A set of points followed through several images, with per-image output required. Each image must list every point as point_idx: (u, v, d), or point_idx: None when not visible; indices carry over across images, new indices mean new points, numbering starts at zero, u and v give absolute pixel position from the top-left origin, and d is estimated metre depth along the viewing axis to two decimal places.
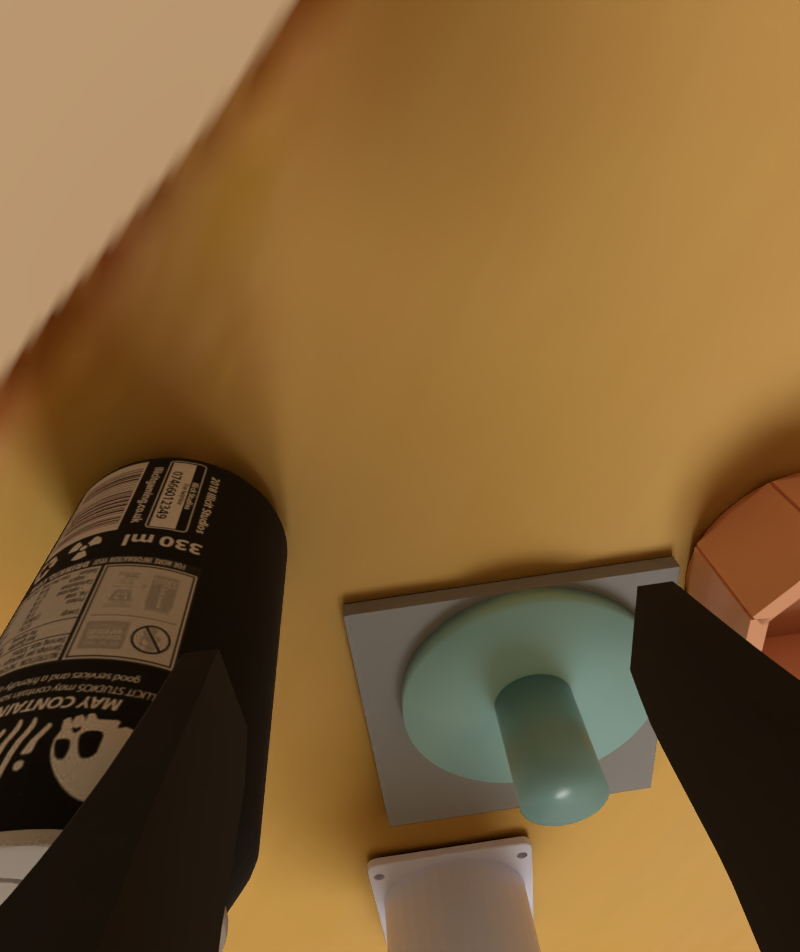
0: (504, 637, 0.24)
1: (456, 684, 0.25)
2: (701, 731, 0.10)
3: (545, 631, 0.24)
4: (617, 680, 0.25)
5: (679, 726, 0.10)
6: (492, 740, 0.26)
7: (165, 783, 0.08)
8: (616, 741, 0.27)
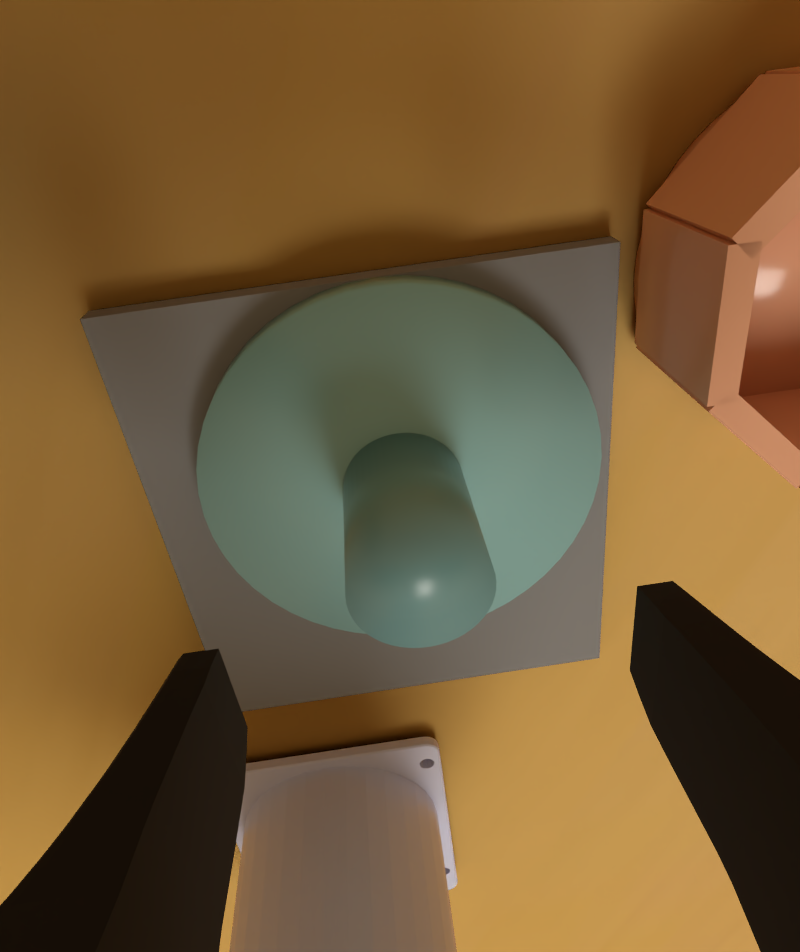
0: (339, 355, 0.15)
1: (276, 448, 0.16)
2: (701, 731, 0.10)
3: (405, 346, 0.15)
4: (530, 450, 0.16)
5: (679, 726, 0.10)
6: None
7: (165, 783, 0.08)
8: (538, 565, 0.18)
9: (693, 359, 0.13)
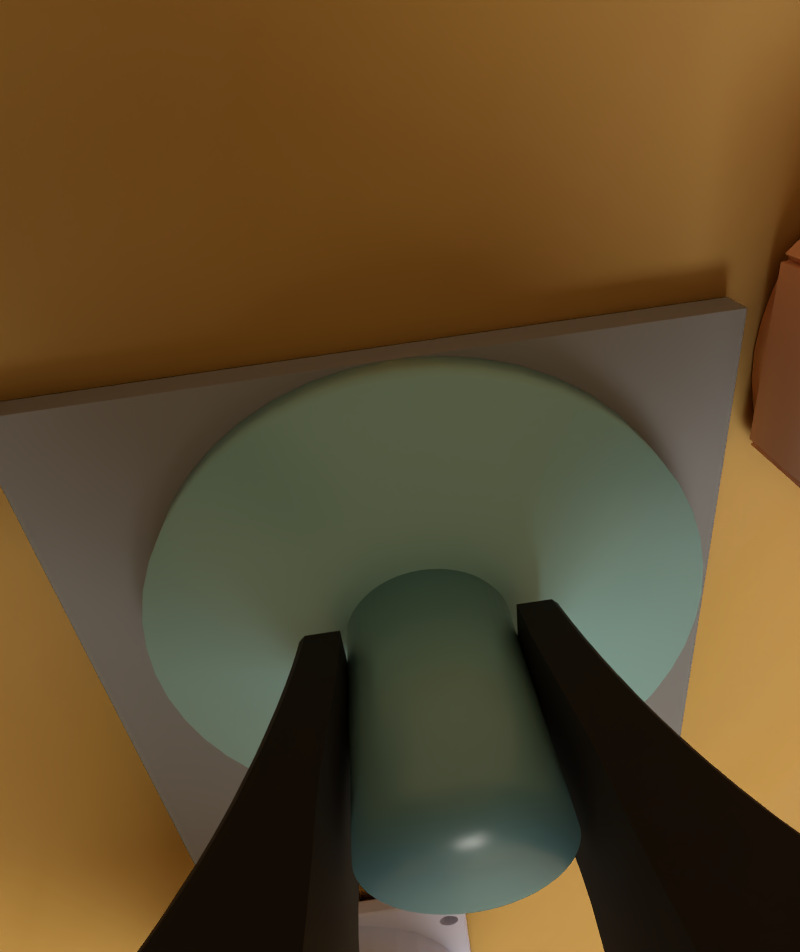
0: (342, 472, 0.10)
1: (254, 591, 0.11)
2: (562, 752, 0.10)
3: (438, 459, 0.10)
4: (606, 587, 0.12)
5: None
6: None
7: (322, 759, 0.09)
8: None
9: None
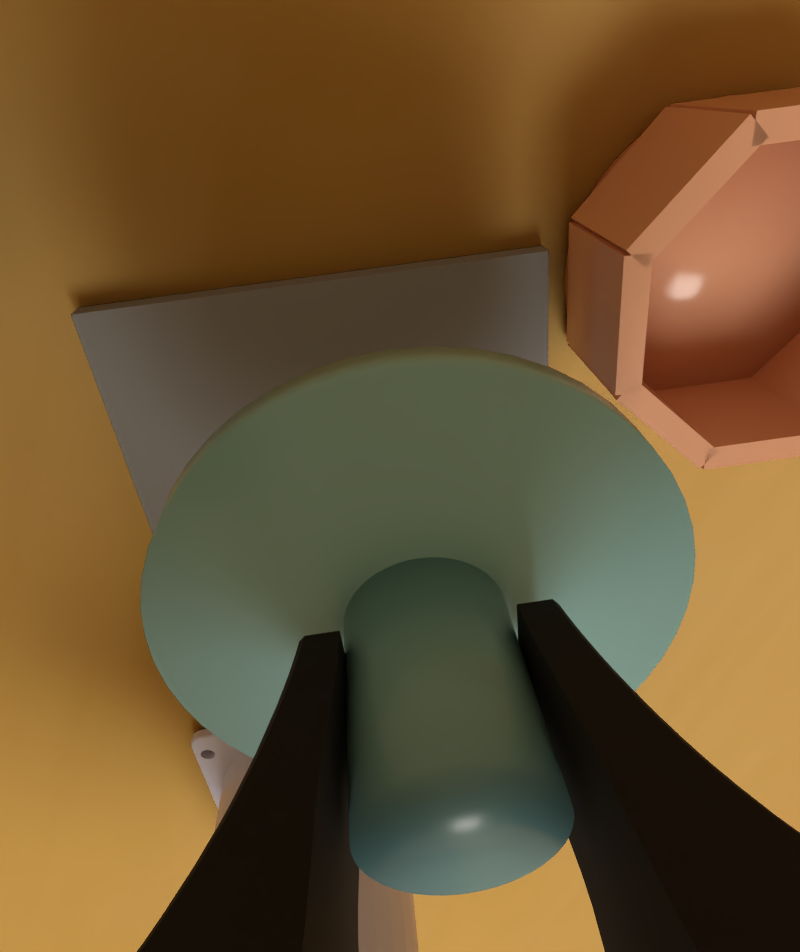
0: (340, 461, 0.10)
1: (251, 579, 0.11)
2: (562, 752, 0.10)
3: (434, 448, 0.10)
4: (599, 575, 0.12)
5: None
6: None
7: (322, 759, 0.09)
8: None
9: (605, 354, 0.15)
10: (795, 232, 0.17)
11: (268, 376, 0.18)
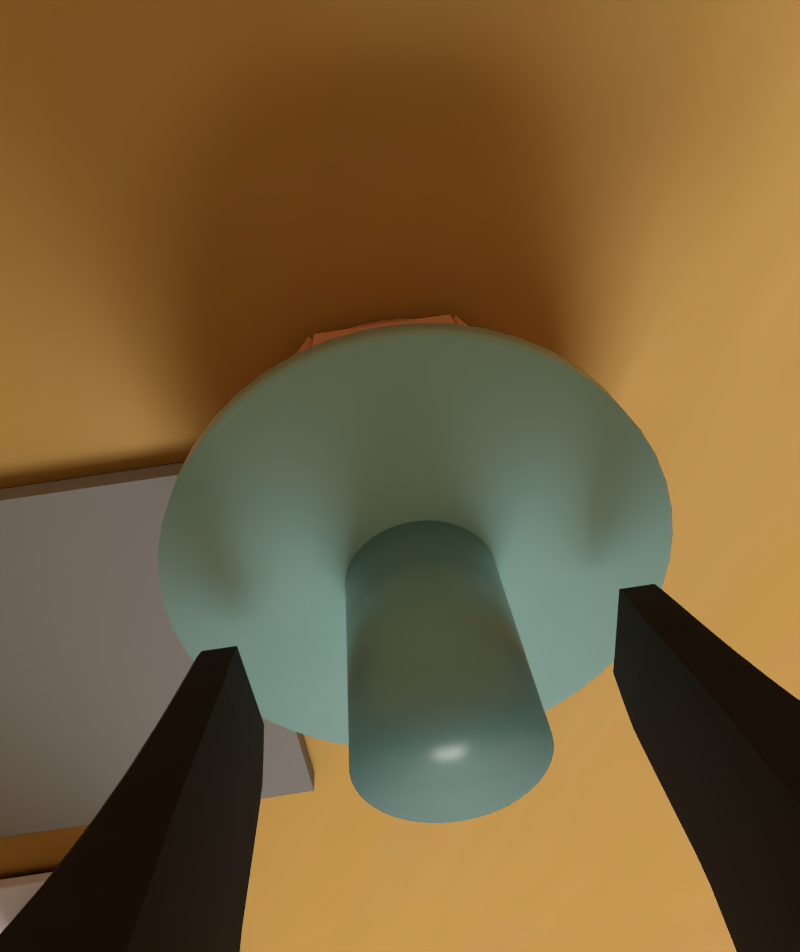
0: (356, 422, 0.11)
1: (264, 531, 0.12)
2: (680, 734, 0.10)
3: (443, 416, 0.11)
4: (584, 548, 0.13)
5: (660, 729, 0.10)
6: (345, 660, 0.14)
7: (188, 779, 0.08)
8: (575, 678, 0.15)
9: None
10: None
11: None
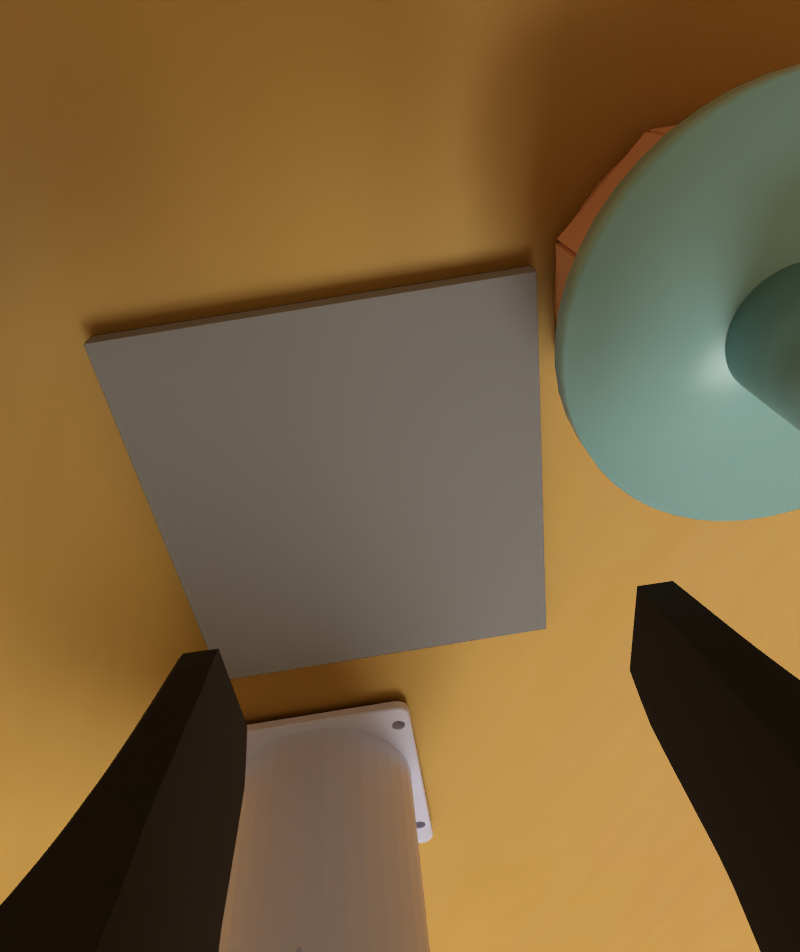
0: (790, 148, 0.12)
1: (675, 268, 0.13)
2: (701, 731, 0.10)
3: None
4: None
5: (679, 726, 0.10)
6: (702, 418, 0.15)
7: (164, 783, 0.08)
8: None
9: None
10: None
11: (271, 396, 0.19)
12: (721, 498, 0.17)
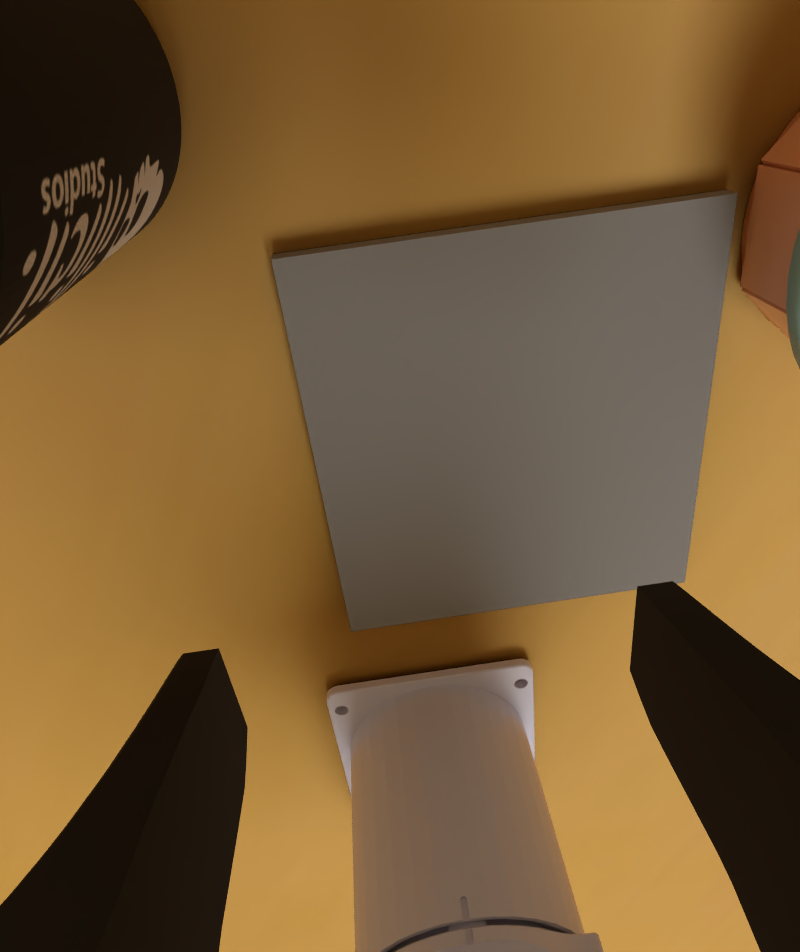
0: None
1: None
2: (701, 731, 0.10)
3: None
4: None
5: (679, 726, 0.10)
6: None
7: (164, 783, 0.08)
8: None
9: None
10: None
11: (451, 322, 0.18)
12: None
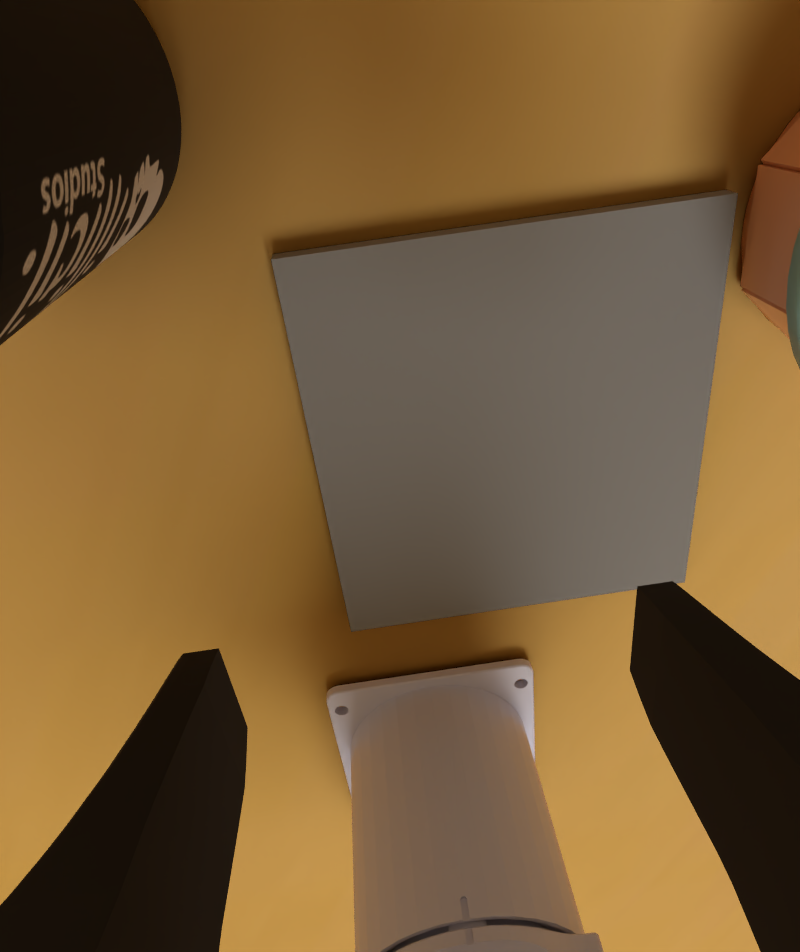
0: None
1: None
2: (701, 731, 0.10)
3: None
4: None
5: (679, 726, 0.10)
6: None
7: (164, 783, 0.08)
8: None
9: None
10: None
11: (451, 322, 0.18)
12: None
